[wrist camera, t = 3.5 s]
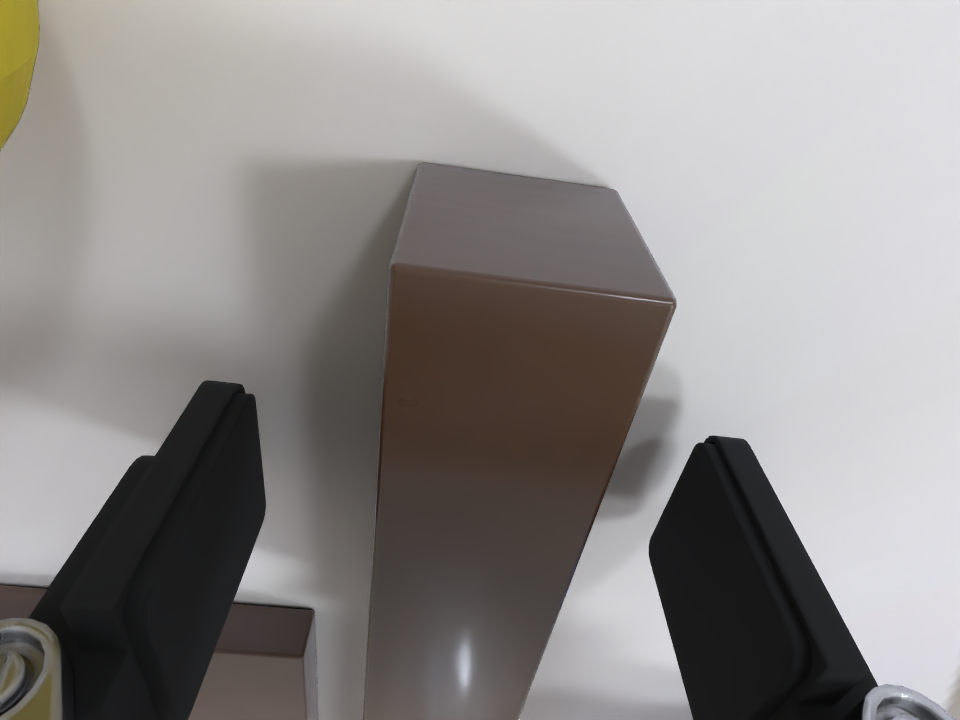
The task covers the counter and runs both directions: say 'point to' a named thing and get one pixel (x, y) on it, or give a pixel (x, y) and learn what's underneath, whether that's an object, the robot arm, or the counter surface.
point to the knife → (497, 428)
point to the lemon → (16, 60)
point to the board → (239, 661)
